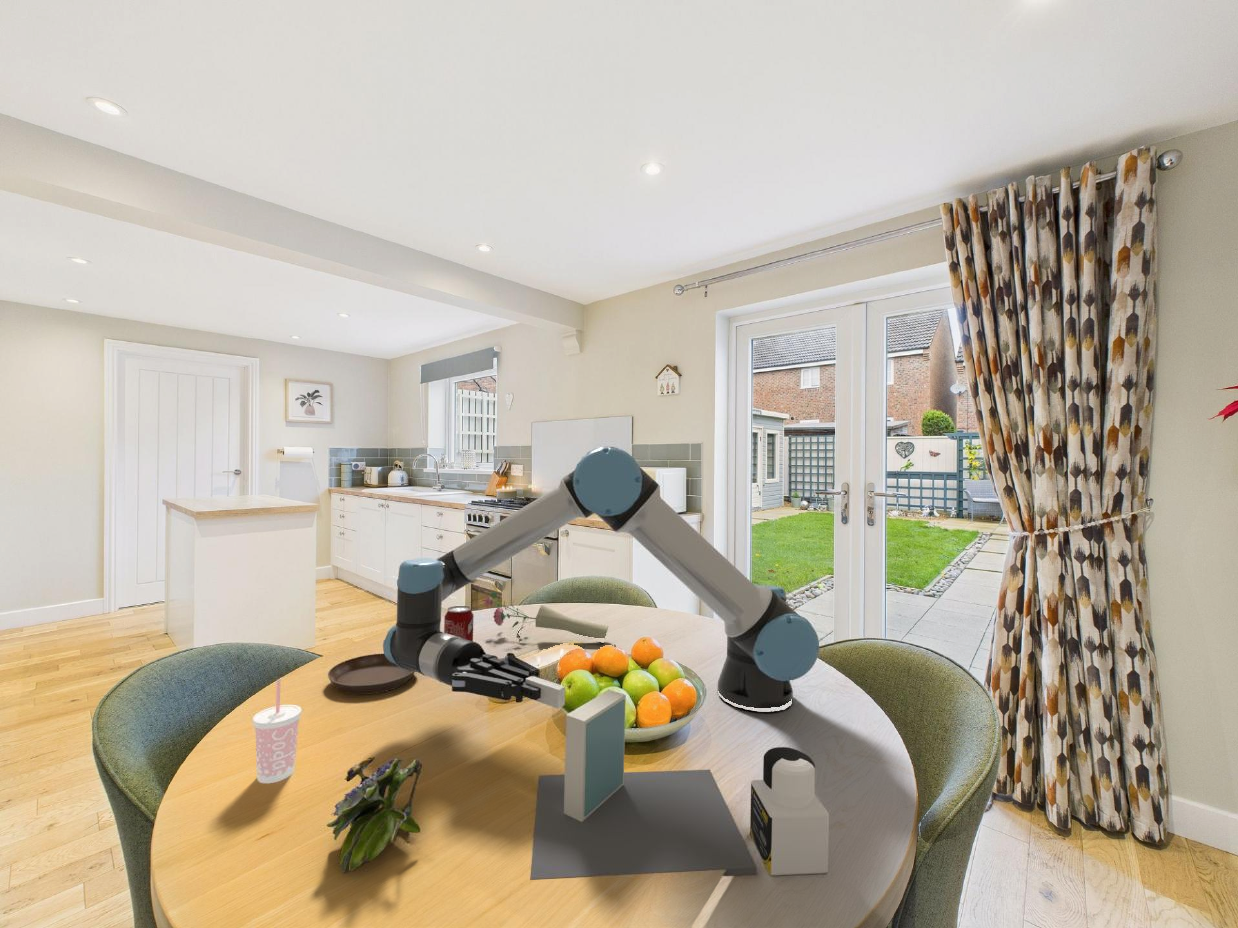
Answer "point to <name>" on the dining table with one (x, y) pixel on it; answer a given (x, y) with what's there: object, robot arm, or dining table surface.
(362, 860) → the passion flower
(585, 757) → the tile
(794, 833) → the medicine bottle
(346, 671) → the plant saucer
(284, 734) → the beverage cup
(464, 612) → the soda can
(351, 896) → the dining table surface
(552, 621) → the flower vase
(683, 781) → the mat
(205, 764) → the dining table surface
